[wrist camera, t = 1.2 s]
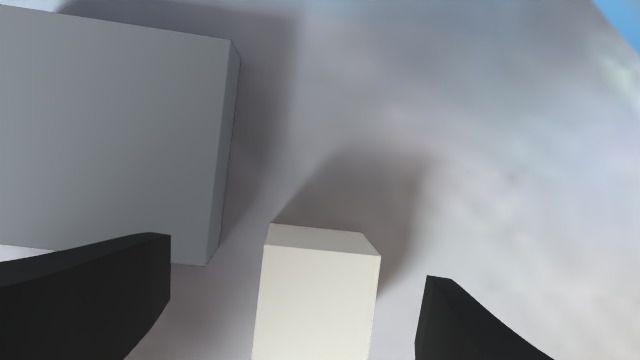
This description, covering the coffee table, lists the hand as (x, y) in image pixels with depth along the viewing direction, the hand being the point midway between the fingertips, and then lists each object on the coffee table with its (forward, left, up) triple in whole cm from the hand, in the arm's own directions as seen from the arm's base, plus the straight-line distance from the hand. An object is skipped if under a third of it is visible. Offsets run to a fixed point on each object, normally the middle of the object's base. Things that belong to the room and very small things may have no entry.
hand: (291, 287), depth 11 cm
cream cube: (-3, -1, -11) cm, 11 cm away
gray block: (+3, +9, -11) cm, 15 cm away
